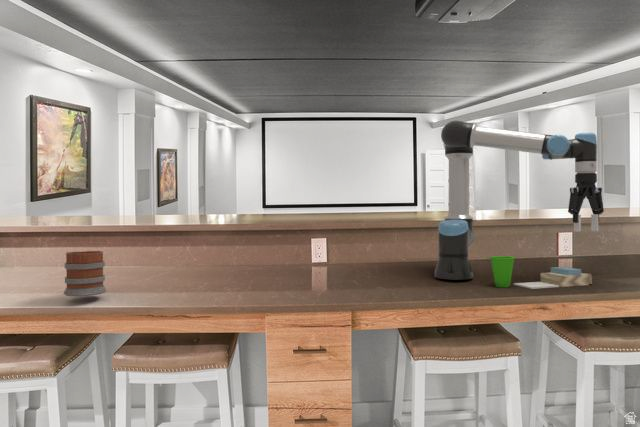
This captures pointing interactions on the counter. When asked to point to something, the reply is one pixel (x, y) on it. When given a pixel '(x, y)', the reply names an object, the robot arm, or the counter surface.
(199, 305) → the counter surface
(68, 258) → the mug
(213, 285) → the counter surface
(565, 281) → the light wood flat block
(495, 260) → the cup
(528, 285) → the mat
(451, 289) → the counter surface
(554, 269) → the card
